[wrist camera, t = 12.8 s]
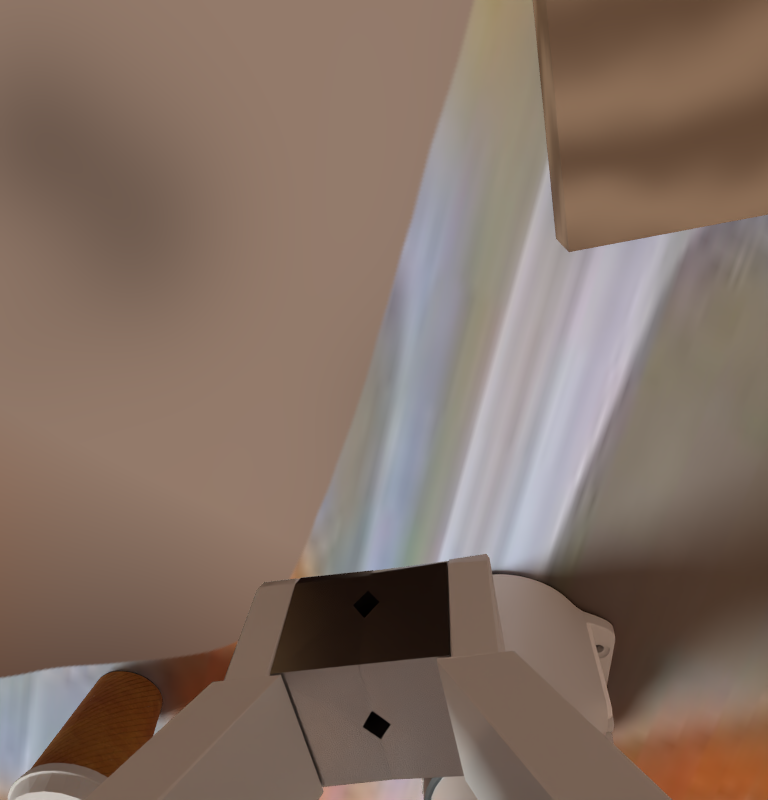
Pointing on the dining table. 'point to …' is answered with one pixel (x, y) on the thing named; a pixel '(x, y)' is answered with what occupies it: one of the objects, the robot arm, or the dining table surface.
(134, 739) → the disposable coffee cup
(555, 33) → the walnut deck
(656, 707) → the dining table surface
